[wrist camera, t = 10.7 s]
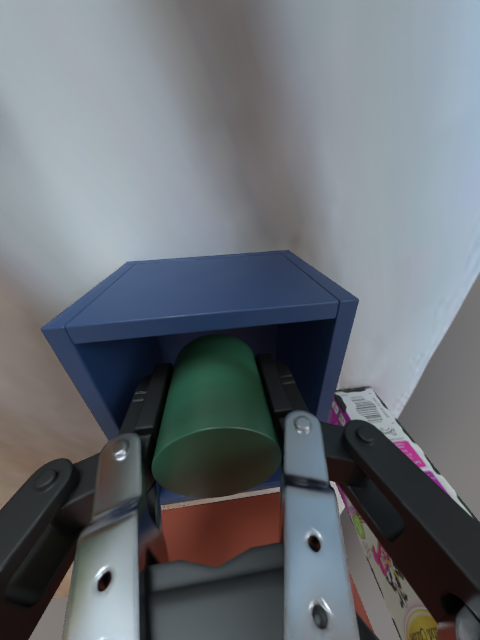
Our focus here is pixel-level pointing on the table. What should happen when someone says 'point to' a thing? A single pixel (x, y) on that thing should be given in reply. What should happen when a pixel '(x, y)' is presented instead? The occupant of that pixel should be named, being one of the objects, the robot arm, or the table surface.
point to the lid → (227, 532)
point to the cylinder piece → (215, 422)
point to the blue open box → (203, 328)
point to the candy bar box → (396, 591)
